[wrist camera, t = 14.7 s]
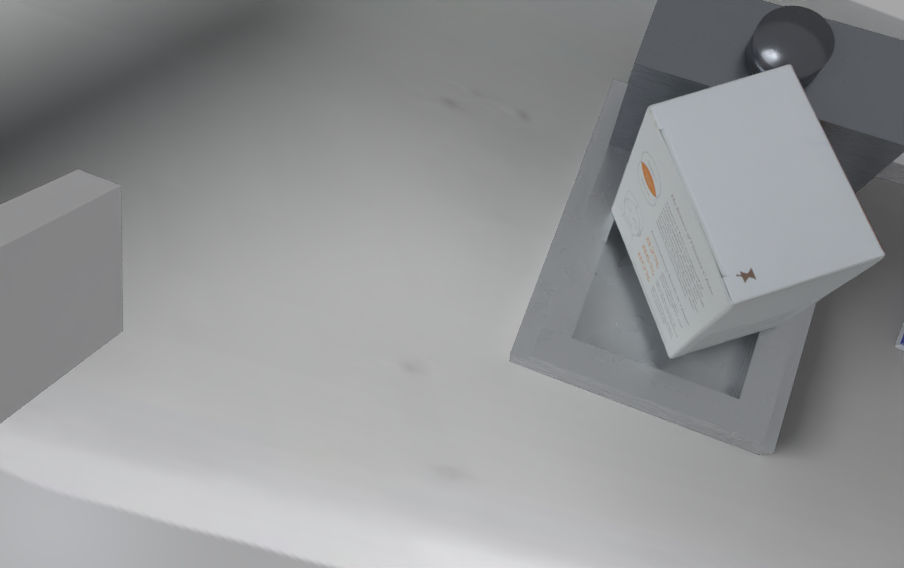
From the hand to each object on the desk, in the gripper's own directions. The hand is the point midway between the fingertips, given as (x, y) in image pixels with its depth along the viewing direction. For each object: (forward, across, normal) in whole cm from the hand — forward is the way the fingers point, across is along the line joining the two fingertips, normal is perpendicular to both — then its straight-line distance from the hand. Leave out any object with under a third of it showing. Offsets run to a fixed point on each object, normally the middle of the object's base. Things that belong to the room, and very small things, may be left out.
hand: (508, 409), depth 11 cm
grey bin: (+29, +5, -10) cm, 31 cm away
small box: (+26, +5, -9) cm, 28 cm away
